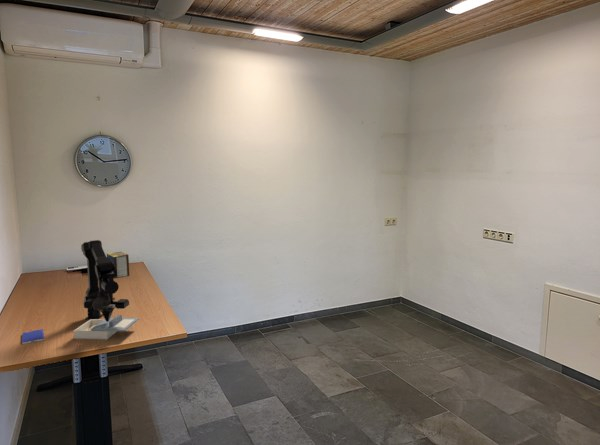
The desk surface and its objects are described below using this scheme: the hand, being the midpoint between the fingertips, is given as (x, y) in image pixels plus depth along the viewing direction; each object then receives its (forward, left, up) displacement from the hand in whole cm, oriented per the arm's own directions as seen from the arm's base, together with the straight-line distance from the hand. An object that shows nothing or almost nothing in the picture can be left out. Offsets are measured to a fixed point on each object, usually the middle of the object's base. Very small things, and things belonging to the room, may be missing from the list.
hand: (107, 321), depth 188 cm
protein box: (-105, -46, -6) cm, 115 cm away
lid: (0, +4, -1) cm, 4 cm away
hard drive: (+6, -31, -7) cm, 33 cm away
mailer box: (0, -4, -6) cm, 7 cm away
